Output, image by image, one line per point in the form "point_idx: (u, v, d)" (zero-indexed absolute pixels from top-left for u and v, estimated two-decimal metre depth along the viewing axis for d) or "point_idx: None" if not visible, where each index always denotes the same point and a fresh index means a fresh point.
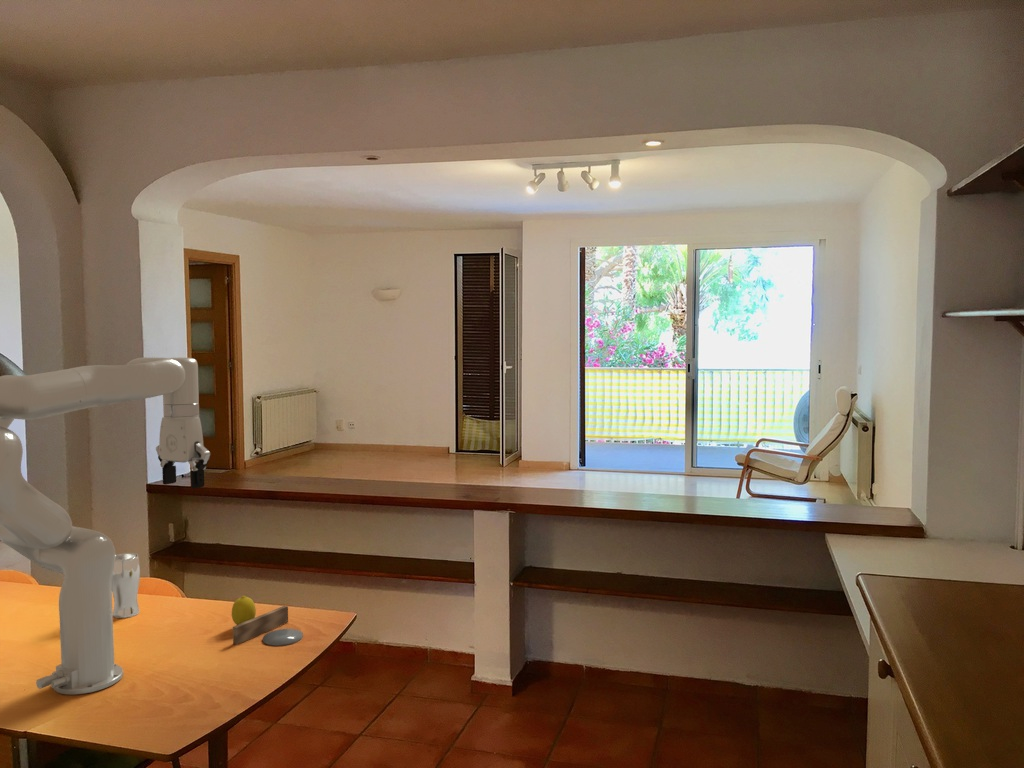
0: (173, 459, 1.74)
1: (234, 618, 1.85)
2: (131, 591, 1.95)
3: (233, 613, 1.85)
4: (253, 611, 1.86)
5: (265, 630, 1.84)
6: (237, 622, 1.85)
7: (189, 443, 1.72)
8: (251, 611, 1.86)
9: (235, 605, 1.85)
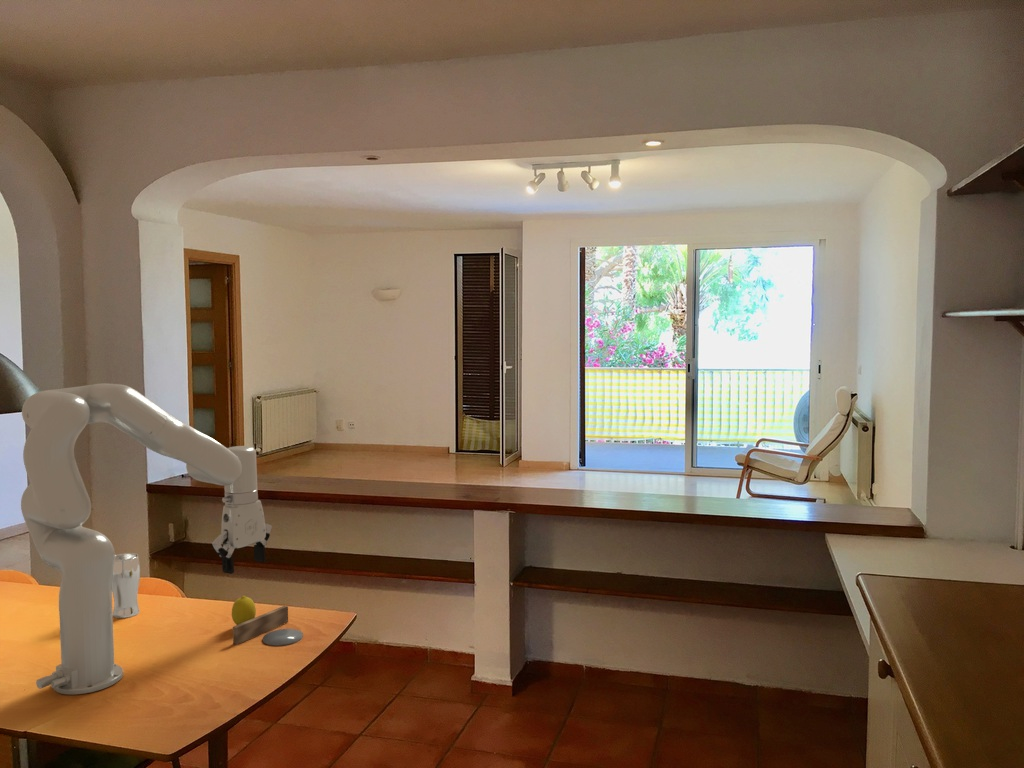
0: (253, 541, 1.85)
1: (234, 618, 1.85)
2: (131, 591, 1.95)
3: (233, 613, 1.85)
4: (253, 611, 1.86)
5: (265, 630, 1.84)
6: (237, 622, 1.85)
7: None
8: (251, 611, 1.86)
9: (235, 605, 1.85)
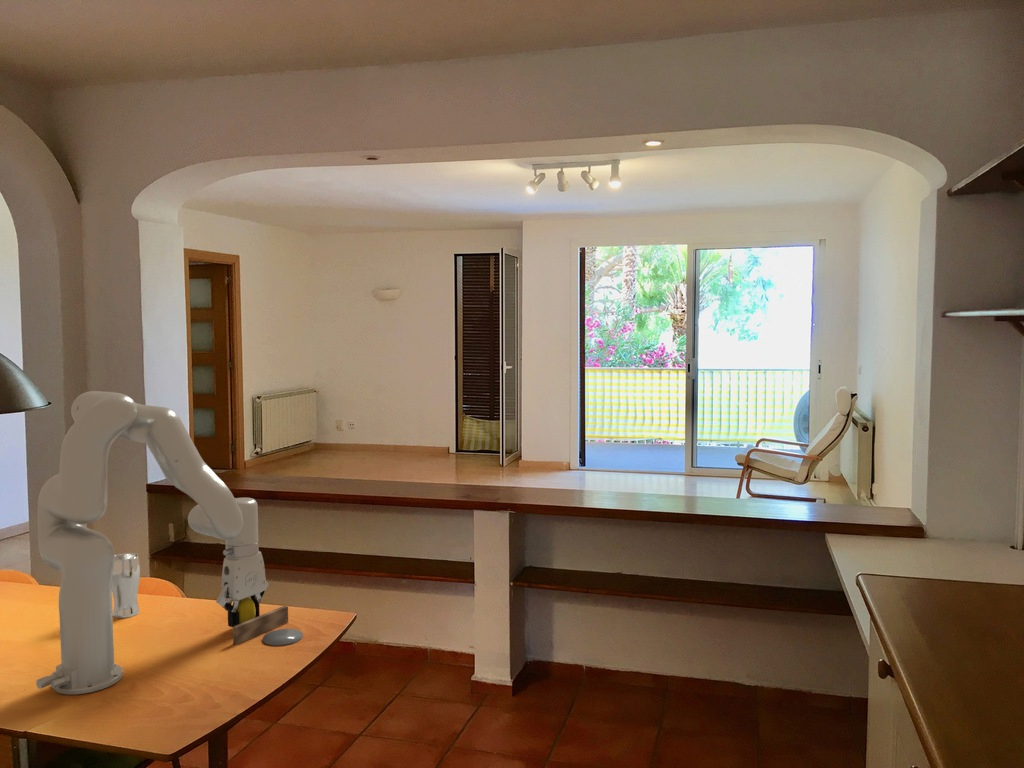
0: (253, 593, 1.86)
1: None
2: (131, 591, 1.95)
3: None
4: (253, 611, 1.86)
5: (265, 630, 1.84)
6: None
7: None
8: (251, 611, 1.86)
9: None
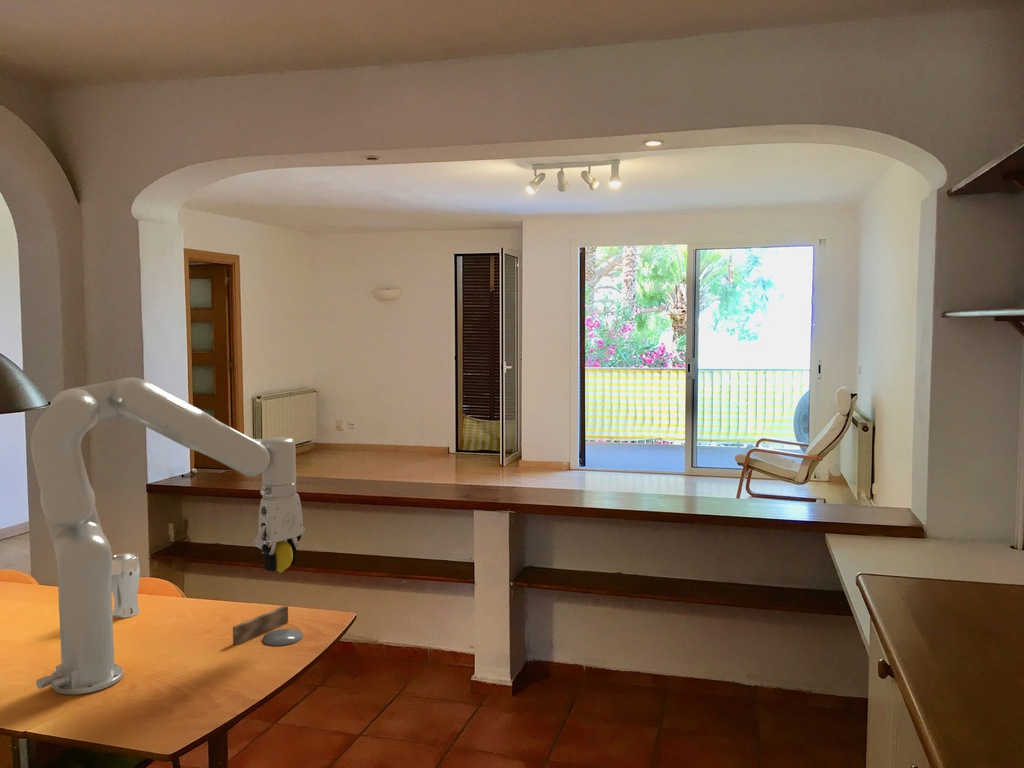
0: (290, 536, 1.78)
1: None
2: (131, 591, 1.95)
3: None
4: (290, 555, 1.79)
5: (265, 630, 1.84)
6: None
7: None
8: (289, 555, 1.78)
9: None
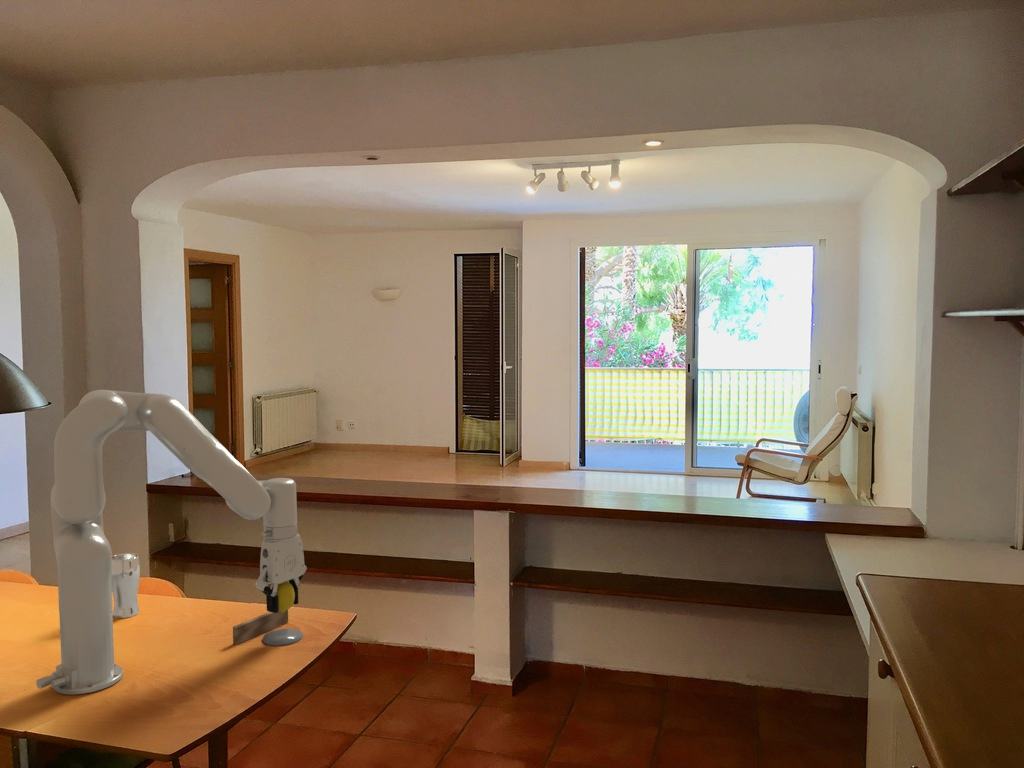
0: (292, 577, 1.79)
1: None
2: (131, 591, 1.95)
3: None
4: (292, 595, 1.80)
5: (265, 630, 1.84)
6: None
7: None
8: (291, 596, 1.79)
9: None
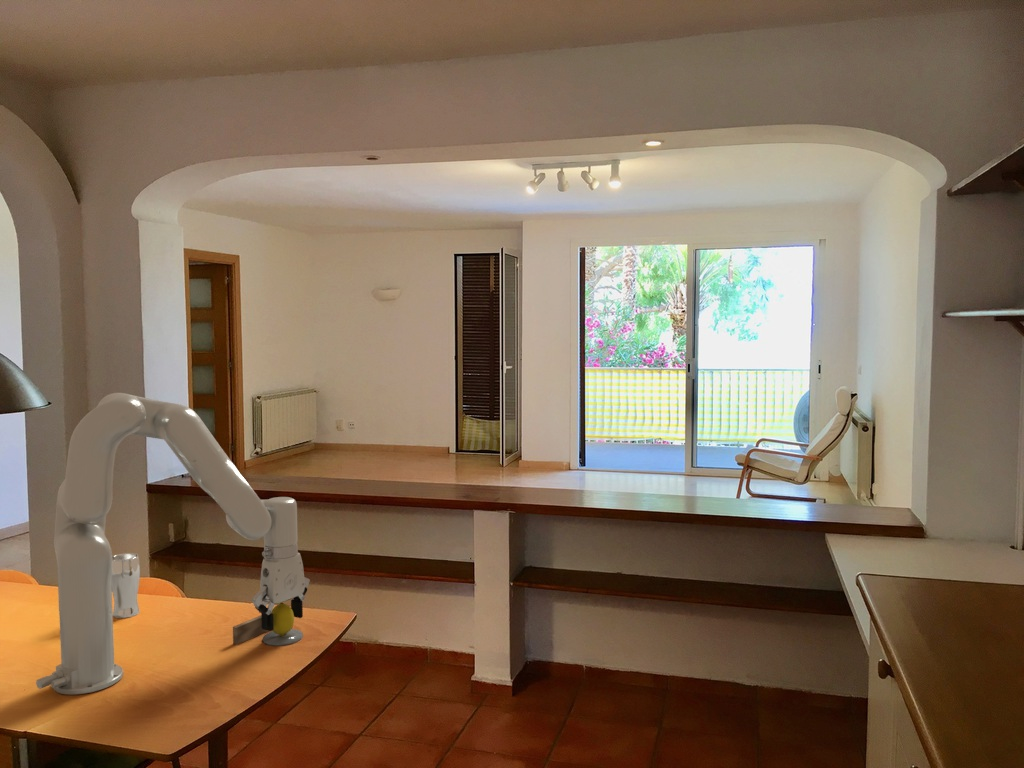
0: (292, 596, 1.79)
1: None
2: (131, 591, 1.95)
3: None
4: (292, 619, 1.80)
5: (265, 630, 1.84)
6: (275, 630, 1.78)
7: None
8: (290, 619, 1.79)
9: (273, 612, 1.79)
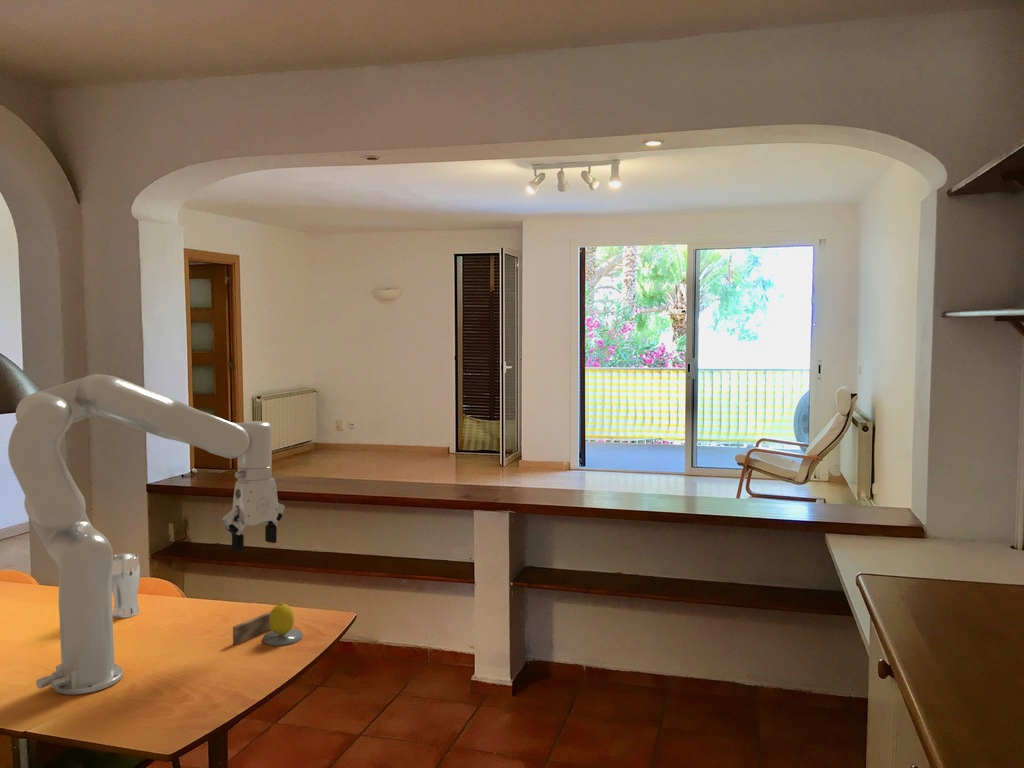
0: (264, 520, 1.79)
1: (272, 626, 1.78)
2: (131, 591, 1.95)
3: (271, 621, 1.78)
4: (291, 619, 1.80)
5: (265, 630, 1.84)
6: (275, 630, 1.78)
7: None
8: (290, 619, 1.79)
9: (273, 612, 1.79)
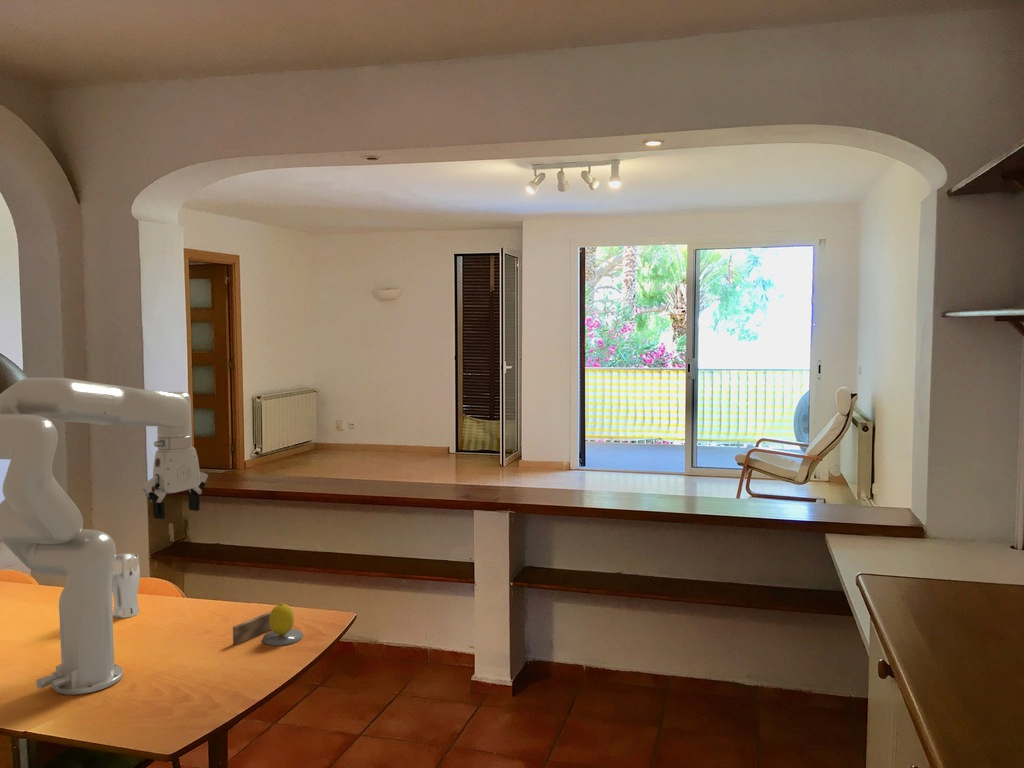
0: (185, 488, 1.83)
1: (272, 626, 1.78)
2: (131, 591, 1.95)
3: (271, 621, 1.78)
4: (291, 619, 1.80)
5: (265, 630, 1.84)
6: (275, 630, 1.78)
7: None
8: (290, 619, 1.79)
9: (273, 612, 1.79)
